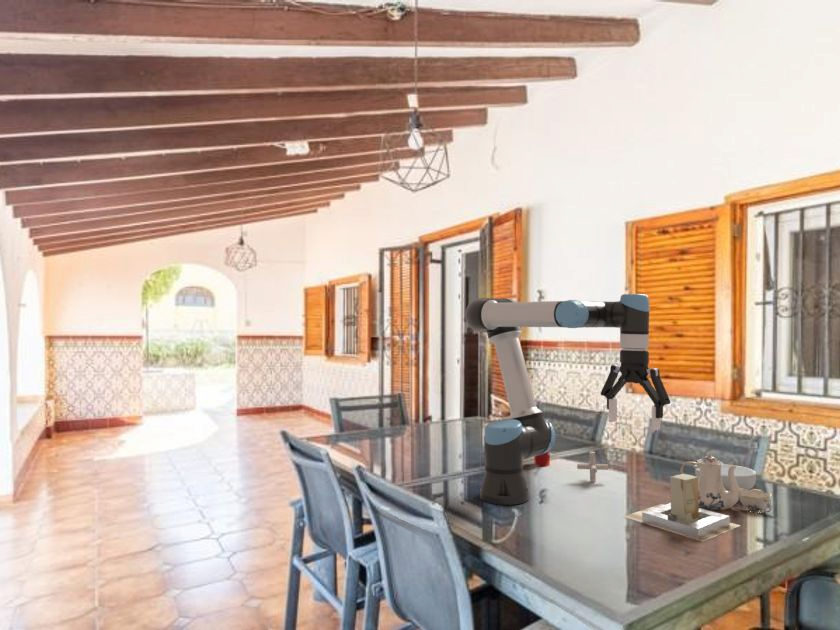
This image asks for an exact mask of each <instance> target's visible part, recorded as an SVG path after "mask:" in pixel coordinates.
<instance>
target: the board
mask: <svg viewBox="0 0 840 630" xmlns="http://www.w3.org/2000/svg"><path fill="white" fill-rule="evenodd" d="M662 505H665V504H664V503H660V504H657V505H654V506H651V507H648V508H644V509H642V510H639V511H635V512H632V513H630V514H627V515H623V516H622V517H623V518H626V519H629V520H633V521H636V522H638V523H643V524H645V525H649V526H651V527H655V528H658V529H661V530H664V531H666V532H667V531H668V532H670V533H673V534H674V533H675V534H677V535H680V536H683V537H687V538H689V539H693V540H696V541H699V542H706V541H709V540H711V539H713V538H716V537H718V536H720V535H722V534H725V533H728V532H730V531H731V530H735V529H737V528H739V527H741V526H742V525H740V524H736V523H734V522H730V526H728V527H726V528H724V529H721V530H719V531H717V532H714V533H712V534H709V535H707V536H705V537H702V538H700V539H696V538H693V537H689V536H686V535H683V534H680V533H677V532H674V531H670V530H667V529H664V528H661V527H658V526H654V525H651V524H648V523H645V522H642V512H644V511H647V510H650V509H653V508H656V507H659V506H662Z"/></svg>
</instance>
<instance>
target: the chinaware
mask: <svg viewBox="0 0 840 630" xmlns="http://www.w3.org/2000/svg"><path fill="white" fill-rule="evenodd" d="M689 464H690V465H691V464H693V469H694V470H695V469H697V468H700V476H699V478H698V501H699V508H701V509H705V510H708V511H726V510H728V509H730V508H731V507H733V506H735V505H736V504H737V503H738V502H740V503H741V504H742V506H743V507H745V508H746V510H749V512H748V513H751V512H754V513H753V514H755V513H757V514H759V513H758V512H759V511H760V512H761V513H760V514H764V513H770V512H772V504H771V502H770V501H769V500H770V499H771V497H772V493H770V492H764V491H763V490H761V489H755V488H753V489H750V490H746V489H742V488H741V489H739V486H738V484H737V481H736V478H735V475H734V469H735V468H736V467H737V466H738V465H737V466H736V464H732V465H733V466H731V467H730V468H729V470H728V478H729V484H730V491H727V490H725V488H724V486H723V483H722V479H721V466H722V464H724V463H723V462H722V461H720V460H718V459H717V458H716V457H715V456H713V454H712V452H711V451H710V452H707V454H706V456H704V457H703V458H702V459H697V462H696V461H686V462H684V463H683V464H682V465H681V466H680V474H684V467H685V466H687V465H689ZM768 505H769V510H766V509H765V508H766V507H767V506H768ZM750 511H751V512H750Z"/></svg>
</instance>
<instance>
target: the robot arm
mask: <svg viewBox="0 0 840 630" xmlns="http://www.w3.org/2000/svg"><path fill="white" fill-rule="evenodd" d="M650 312H651V309H650V298H649V296H648V295H647V294H645V293H643V294H642V293H626V294H621V296H620V299H619V300H618V301H596V300H594V301H593V300H577V299H568V300H553V301H549V300H548V301H524V302H523V301H515V300H513V299H510V298H505V297H501V298H497V297H495V298H492V297H478V298H475V299H473V300H471V301H470V302H469V304H468V305H467V307H466V308H465V312H464V316H465V317H464V318H465V321H466V323H467V325H468V326H469V327H470V328H471V330H473V331H475V332H479V333H486V334H487V338H488V341H489V342H491V343H492V344H493V345H494V349H495V353H496V357H497V362H498V365H499V369H500V373H501V377H502V382H503V385H504V389H505V393H506V398H507V402H508V407H509V410H510V415H509V416H508V418H504V419H496V420H492V421H491V422H489V423H487V424H486V425H485V427H484V435H483V441H484V471H485V472H484V475H483V479H482V482H481V487H480V488H479V499H480V500H482V501H483V500H484V501H483V502H485V501H486V503H488V502H489V503H490V504H492V503H493V505H500V506H509V505H510V506H512V505H520V504H523V503H526V502H528V501H529V499H530V490H529V488H528V485H527V481H526V479H525V476H524V469H523V467H524V465H523V461H524V460H526V459H530V458H534V456H540V455H542V454H544V453H546V452H548V451H549V450H550V451H551V449H552V448H553V446H554V444H555V441H556V432H555V429H554V426H553V424H552V423H551V422H549V420H548V419H546V418H545V416H544V412H543V410H541V409H539V408H538V407H537V404H536V400H535V397H534V393H533V389H532V386H531V381H530V380H531V379H530V377H529V373H528V368H527V364H526V360H525V357H524V353H523V350H522V345H521V342H520V341H521V340H520V338H521V335H522V333H523V331H522V328H568V329H578V328H617V329H619V333H620V334H619V347H620V348H621V349H620V351H619V363H620V365H619V364H611V365H610V370H609V374H608V376H607V378H606V379H605V382H604V385H603V387H602V389H601V391H600V395H601V396H603V397H605V398H606V409H607V410H608V422H609V423H613V422H614V423H615V422H617V421H618V414H617V413H618V399H617V398H616V396H617V395H618V394H619V392H621V390H622V389H623V388H624V386H625V385H626V383H629V384H630V383H632V384H639V385H640V387H642V388H643V389H644V391H645V393H646V394H647V396H648V397H649V398H650V400H651V401H652V402H653V404H654V405H652V406H651V431H654V432H655V431H660V430H661V419H663V417H664V406H667V405H670V404H671V399H670V396H669V395H668V393H667V391H666V387H665V386H664V384H663V380H662V379H661V375H660V373H661V372H660V369H659V368H657V367H655V368H650V369H649V367H648V366H649V363H650V351H649V350H648V349H649V348H650V346H649V345H650ZM619 374H621V375H620V376H619ZM618 376H619V378H618ZM648 376H649V377H650V379H649V377H648ZM617 378H618V379H617ZM616 380H617V381H616ZM651 382H652V383H651Z"/></svg>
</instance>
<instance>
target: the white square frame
mask: <svg viewBox="0 0 840 630" xmlns="http://www.w3.org/2000/svg"><path fill="white" fill-rule="evenodd" d="M642 522H645V523H648V524H651V525H654V526H658V527H661V528H664V529H667V530H670V531H674V532H677V533H680V534H683V535H686V536H689V537H693V538H696V539H700V538H702V537H705V536H707V535H709V534H712V533H714V532H717V531H719V530H721V529H724V528H726V527H728V526H730V523H731V519H730V515H726V514H723V513H719V512H716V511H713V510H709V509H704V508H701V507H699V520H698V521H696V522H693V523H692V522H689V521H685V520H682V519H678V518H677V515H674V514H671V502H669V503H665V504H664V505H662V506H659V507H656V508H653V509H650V510H647V511H644V512H642ZM642 522H641V523H642ZM645 523H644V524H645ZM648 524H647V525H648ZM651 525H650V526H651ZM654 526H653V527H654ZM658 527H657V528H658ZM661 528H660V529H661ZM664 529H663V530H664ZM667 530H666V531H667ZM670 531H669V532H670ZM674 532H673V533H674ZM677 533H676V534H677ZM680 534H679V535H680ZM683 535H682V536H683ZM686 536H685V537H686ZM689 537H688V538H689ZM693 538H692V539H693ZM696 539H695V540H696Z"/></svg>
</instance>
